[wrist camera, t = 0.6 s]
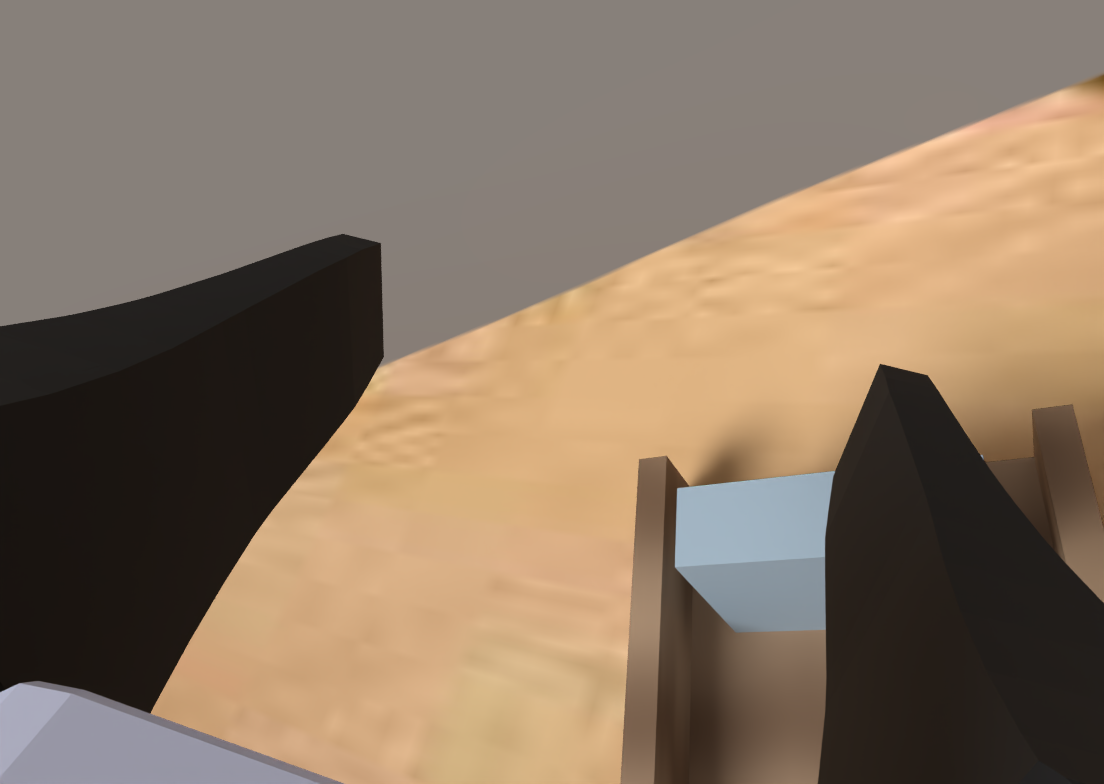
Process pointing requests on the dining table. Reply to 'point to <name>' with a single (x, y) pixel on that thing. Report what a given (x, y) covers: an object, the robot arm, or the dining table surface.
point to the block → (757, 550)
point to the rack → (786, 634)
